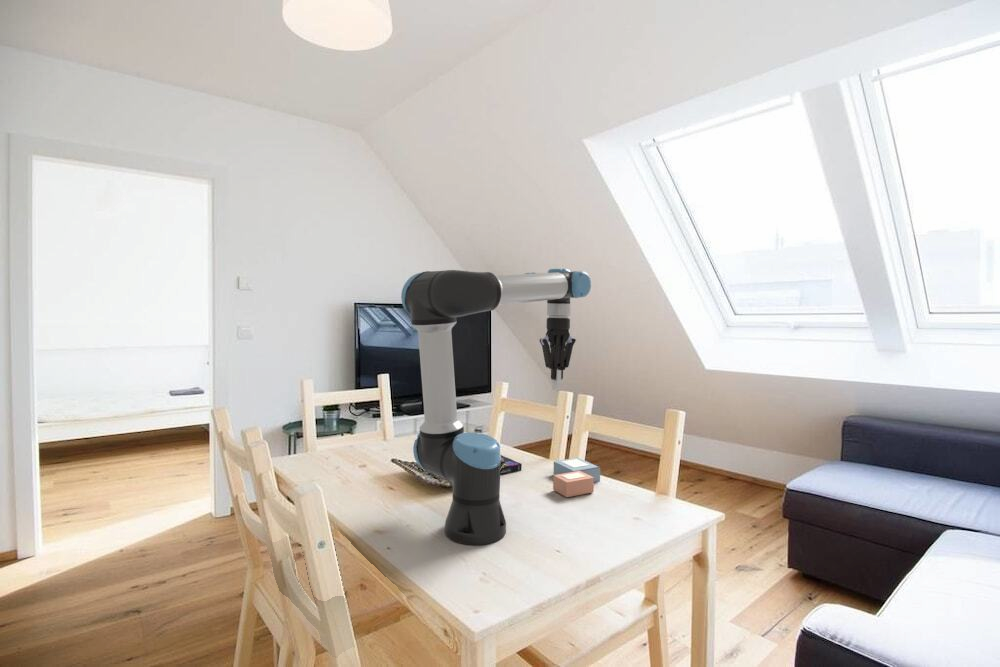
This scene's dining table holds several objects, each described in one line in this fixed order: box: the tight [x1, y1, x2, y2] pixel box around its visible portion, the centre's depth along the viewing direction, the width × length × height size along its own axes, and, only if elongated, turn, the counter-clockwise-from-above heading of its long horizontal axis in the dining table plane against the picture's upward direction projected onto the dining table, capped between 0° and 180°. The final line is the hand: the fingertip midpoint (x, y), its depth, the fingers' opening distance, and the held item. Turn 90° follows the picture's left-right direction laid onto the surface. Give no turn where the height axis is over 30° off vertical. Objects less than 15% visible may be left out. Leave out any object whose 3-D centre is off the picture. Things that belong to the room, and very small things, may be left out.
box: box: [500, 454, 523, 476], centre depth 171 cm, size 14×4×20 cm
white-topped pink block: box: [552, 471, 595, 498], centre depth 152 cm, size 7×10×5 cm
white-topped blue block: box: [552, 457, 601, 483], centre depth 165 cm, size 12×10×5 cm
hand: (556, 389), depth 162 cm, fingers closed
